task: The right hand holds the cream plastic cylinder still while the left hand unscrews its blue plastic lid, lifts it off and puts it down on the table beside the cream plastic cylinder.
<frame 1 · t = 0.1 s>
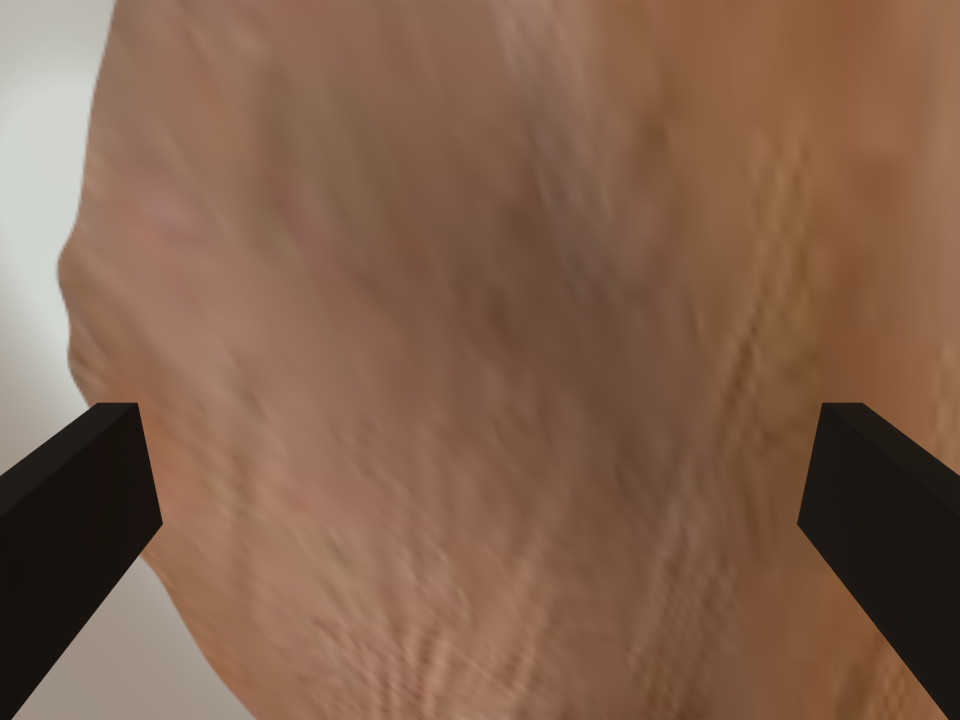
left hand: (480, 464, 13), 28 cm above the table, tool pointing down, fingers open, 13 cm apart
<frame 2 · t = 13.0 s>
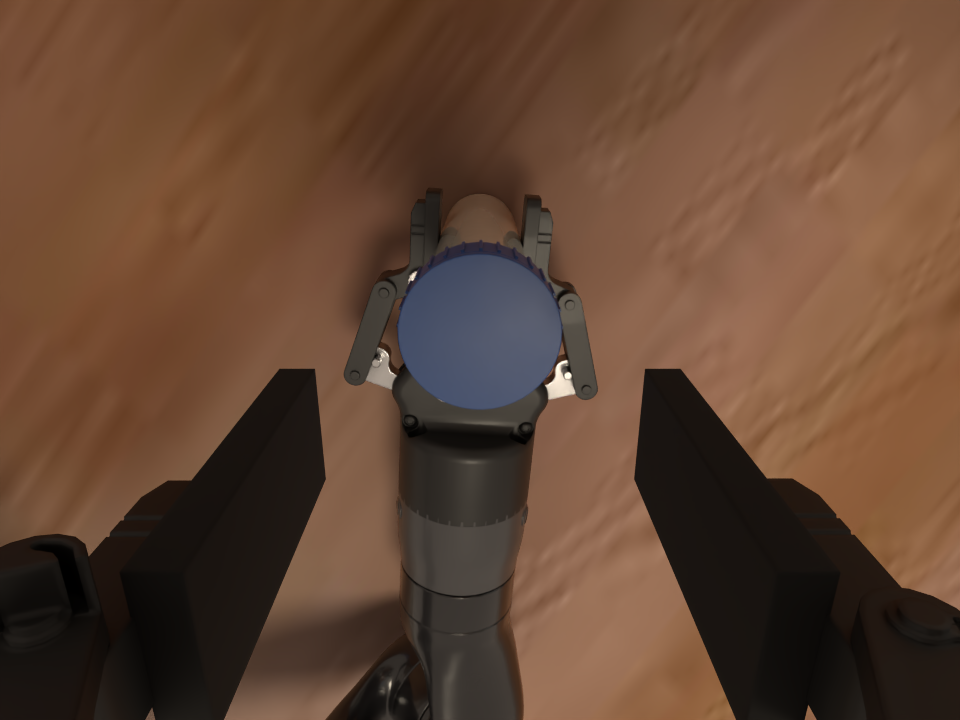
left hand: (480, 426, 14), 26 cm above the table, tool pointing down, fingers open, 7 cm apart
right hand: (484, 194, 32), fingers closed on cream plastic cylinder, 4 cm apart
cream plastic cylinder: (479, 229, 38), on the table, touching right hand
lid: (479, 331, 20), point 19 cm above the table, screwed on, not yet turned
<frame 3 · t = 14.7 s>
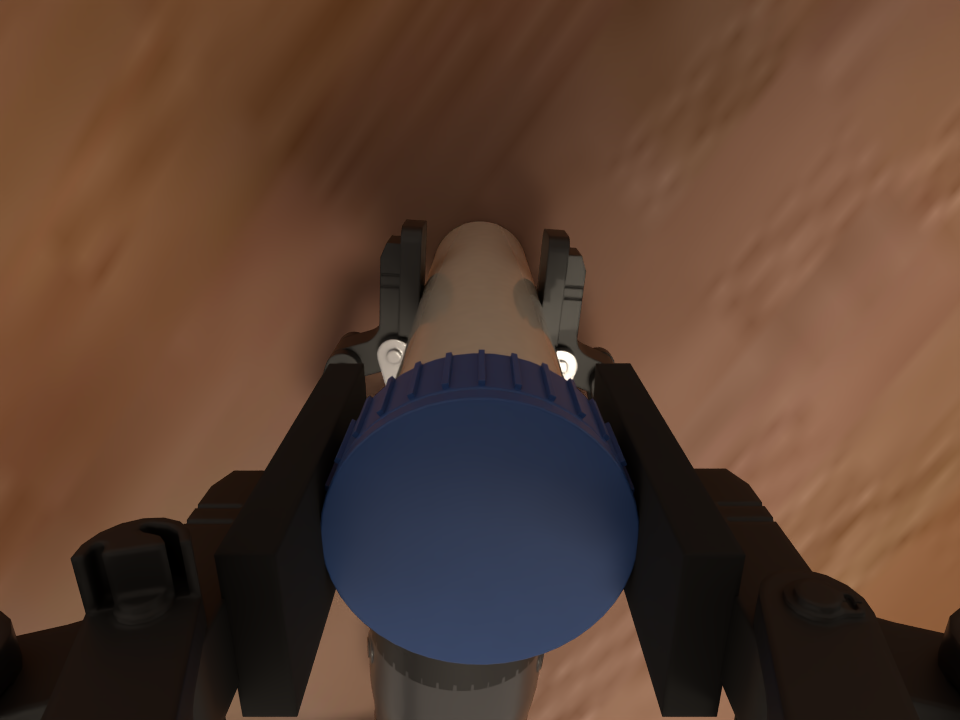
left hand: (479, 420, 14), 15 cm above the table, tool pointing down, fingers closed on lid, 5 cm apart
cream plastic cylinder: (480, 268, 29), on the table, touching right hand
lid: (479, 530, 11), point 19 cm above the table, screwed on, not yet turned, touching left hand
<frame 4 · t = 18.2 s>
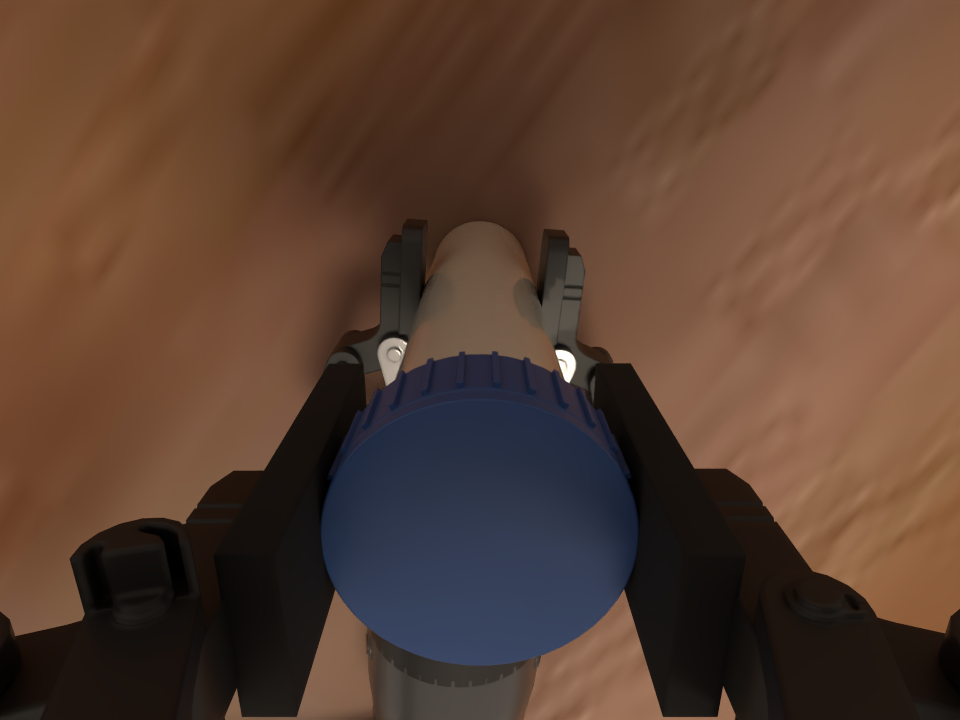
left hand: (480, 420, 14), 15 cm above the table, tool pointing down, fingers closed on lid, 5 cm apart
cream plastic cylinder: (479, 268, 29), on the table, touching right hand
lid: (479, 531, 11), point 19 cm above the table, turned 107° so far, risen 0.2 cm, still on its thread, touching left hand
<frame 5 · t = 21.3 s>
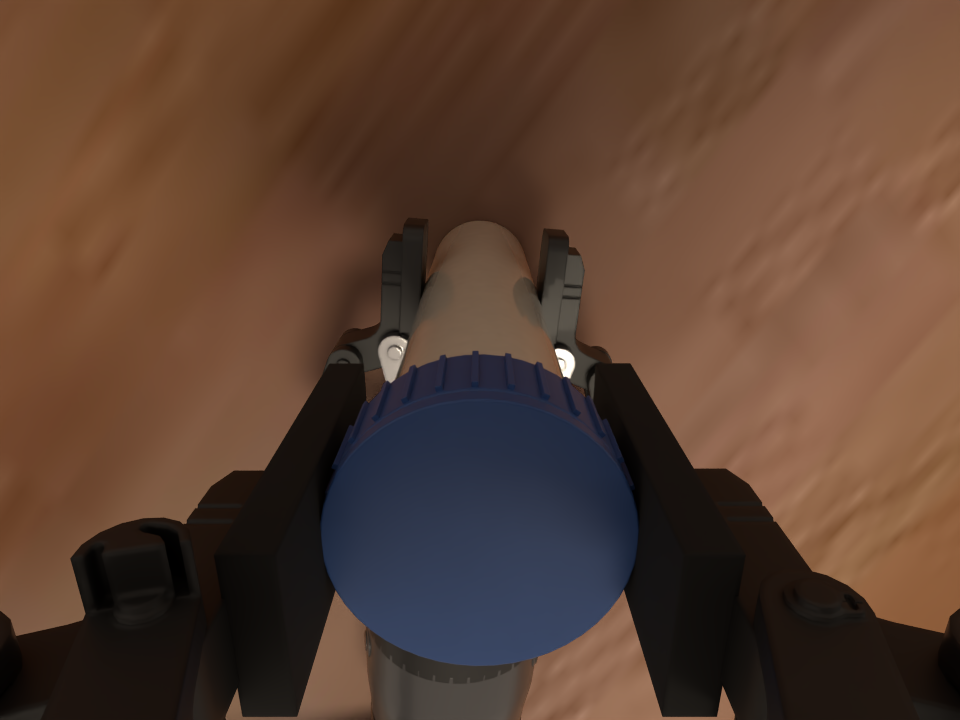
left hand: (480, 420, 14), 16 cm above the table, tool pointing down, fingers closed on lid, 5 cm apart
cream plastic cylinder: (479, 267, 29), on the table, touching right hand
lid: (479, 531, 11), point 20 cm above the table, turned 214° so far, risen 0.3 cm, still on its thread, touching left hand
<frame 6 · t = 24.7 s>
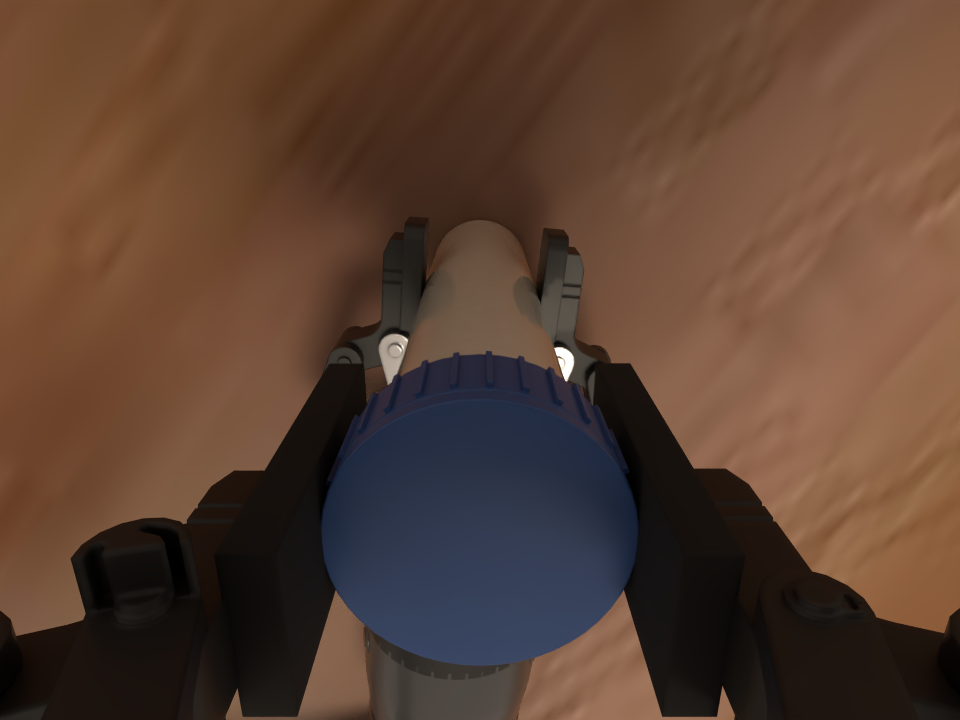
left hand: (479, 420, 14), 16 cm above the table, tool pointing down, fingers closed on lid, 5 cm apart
cream plastic cylinder: (480, 266, 29), on the table, touching right hand
lid: (479, 531, 11), point 20 cm above the table, turned 321° so far, risen 0.5 cm, still on its thread, touching left hand
when the left hand's fingers open (0 cm above the table, at t = 31.8 s): lid drops 3 cm, point 2 cm above the table.
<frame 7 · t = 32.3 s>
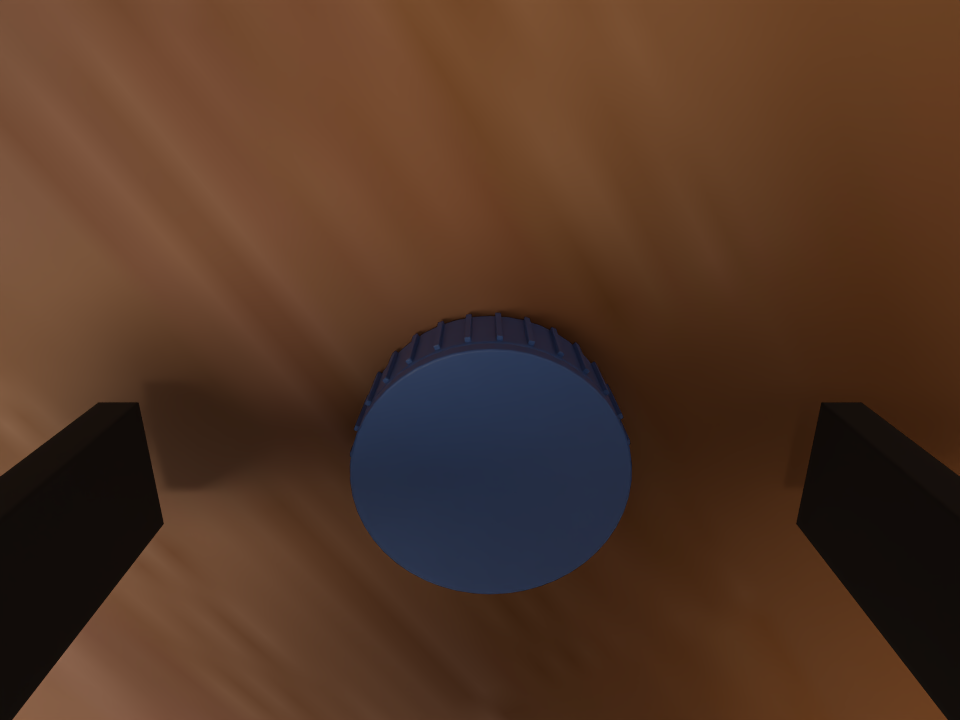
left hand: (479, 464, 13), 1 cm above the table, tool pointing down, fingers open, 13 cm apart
lid: (490, 471, 12), point 2 cm above the table, off its thread
when the right hand's fingers open (6 cm above the table, at t = 32.8 s): cream plastic cylinder stays where it is, on the table.
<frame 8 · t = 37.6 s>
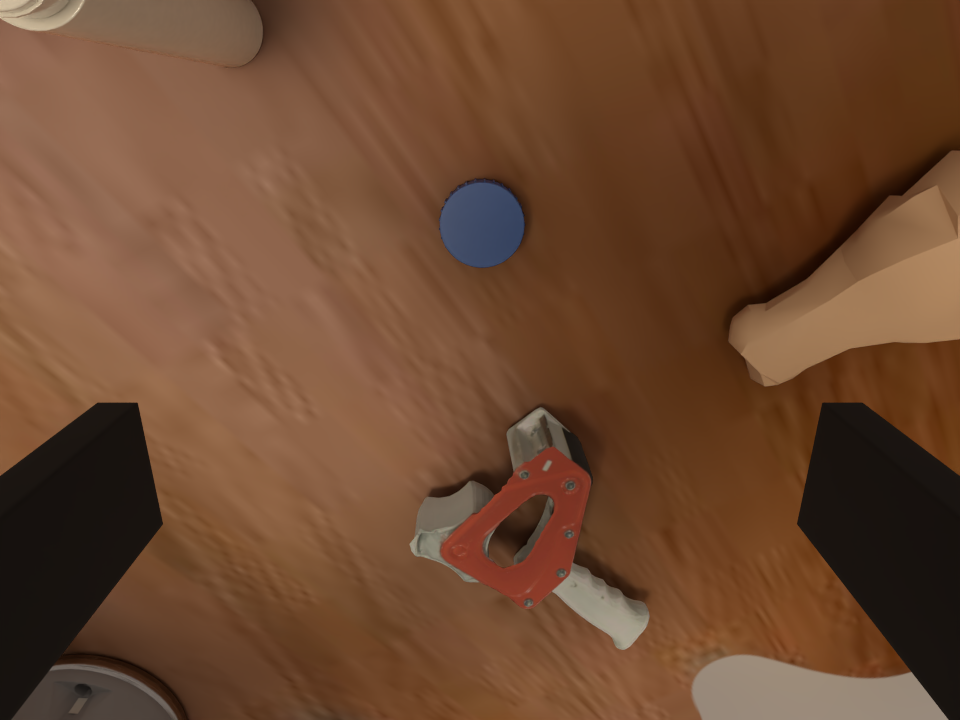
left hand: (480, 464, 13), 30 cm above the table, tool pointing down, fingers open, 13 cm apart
cream plastic cylinder: (226, 27, 37), on the table
tape dispenser: (533, 524, 49), on the table
lid: (482, 225, 39), point 2 cm above the table, off its thread
squash: (866, 271, 42), on the table
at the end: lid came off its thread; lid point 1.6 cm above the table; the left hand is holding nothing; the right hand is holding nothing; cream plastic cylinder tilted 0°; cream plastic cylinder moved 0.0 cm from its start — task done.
